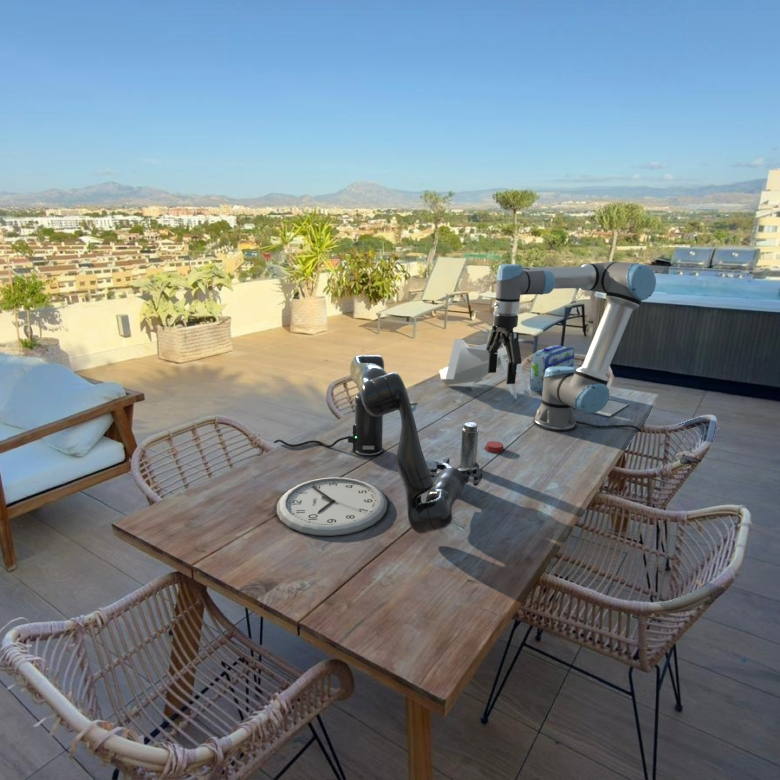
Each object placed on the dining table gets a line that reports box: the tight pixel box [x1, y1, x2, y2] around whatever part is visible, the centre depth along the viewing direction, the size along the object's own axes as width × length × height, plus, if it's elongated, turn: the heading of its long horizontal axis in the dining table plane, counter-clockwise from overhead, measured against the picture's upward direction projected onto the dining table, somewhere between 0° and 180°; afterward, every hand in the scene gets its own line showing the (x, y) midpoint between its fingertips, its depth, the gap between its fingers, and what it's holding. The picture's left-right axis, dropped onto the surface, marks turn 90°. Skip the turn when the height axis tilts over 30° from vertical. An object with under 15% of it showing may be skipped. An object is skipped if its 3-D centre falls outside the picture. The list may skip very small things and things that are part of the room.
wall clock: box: [276, 476, 388, 537], centre depth 142 cm, size 30×2×30 cm
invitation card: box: [595, 399, 629, 418], centre depth 226 cm, size 21×1×15 cm
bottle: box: [459, 421, 479, 469], centre depth 164 cm, size 5×5×15 cm
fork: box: [409, 395, 419, 405], centre depth 222 cm, size 3×16×2 cm, turn 160°
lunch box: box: [529, 345, 575, 394], centre depth 245 cm, size 26×11×21 cm, turn 134°
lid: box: [485, 440, 504, 454], centre depth 181 cm, size 6×6×2 cm
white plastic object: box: [438, 310, 531, 400], centre depth 245 cm, size 37×45×31 cm
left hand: (462, 462), depth 155 cm, fingers open, 8 cm apart
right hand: (501, 378), depth 173 cm, fingers open, 13 cm apart
